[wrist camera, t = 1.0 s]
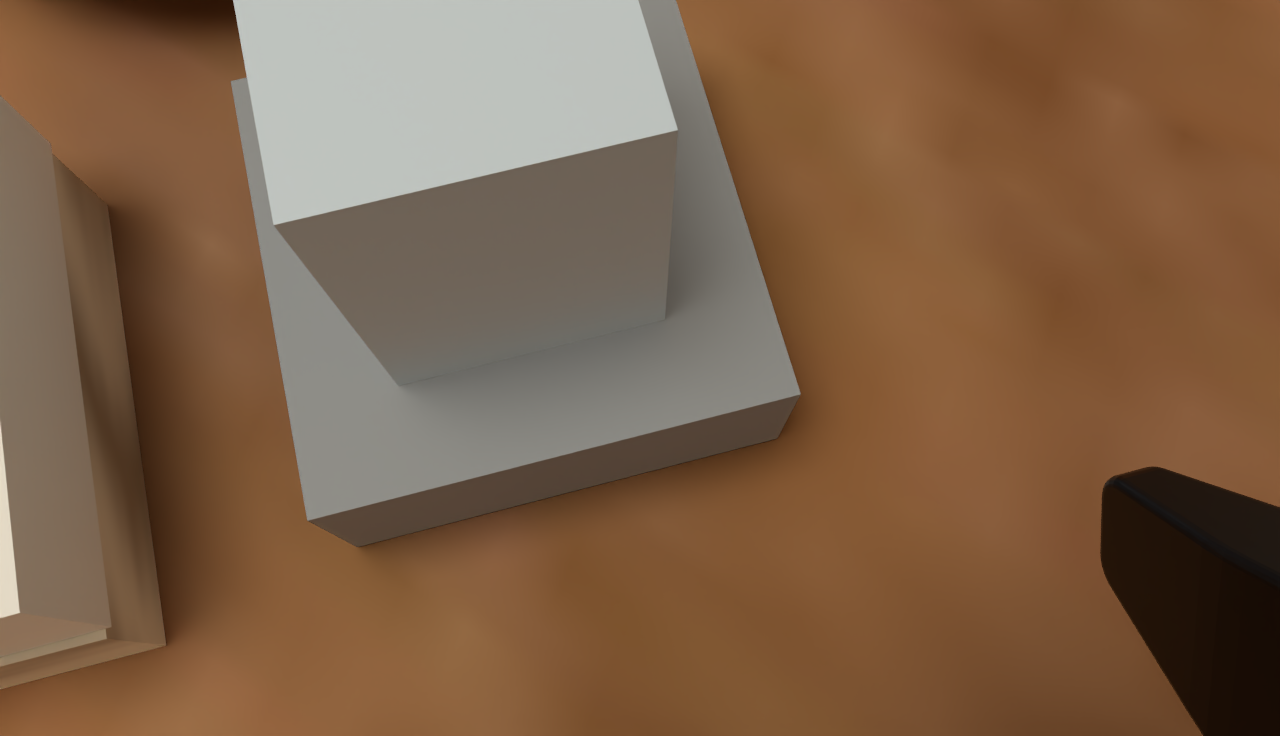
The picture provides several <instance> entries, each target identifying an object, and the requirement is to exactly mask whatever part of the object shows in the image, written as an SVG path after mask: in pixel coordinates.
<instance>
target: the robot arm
mask: <svg viewBox="0 0 1280 736" xmlns="http://www.w3.org/2000/svg"><path fill="white" fill-rule="evenodd" d="M1100 554H1101V563H1102V567H1103V571H1104V574H1105V576H1106V578H1107V581H1108V583H1109V585H1110V586H1111V588H1112V590H1113V591H1114V593H1115V595H1116V596H1117V598H1118V599H1119V601H1120V603H1121V604H1122V606H1123V608H1124V609H1125V611H1126V612H1127V614H1128V616H1129V617H1130V619H1131V621H1132V622H1133V624H1134V625H1135V627H1136V629H1137V630H1138V632H1139V634H1140V635H1141V637H1142V638H1143V640H1144V642H1145V643H1146V645H1147V646H1148V648H1149V650H1150V651H1151V653H1152V655H1153V656H1154V658H1155V659H1156V661H1157V663H1158V664H1159V666H1160V668H1161V669H1162V671H1163V672H1164V674H1165V676H1166V677H1167V679H1168V681H1169V682H1170V684H1171V685H1172V687H1173V689H1174V690H1175V692H1176V694H1177V695H1178V697H1179V698H1180V700H1181V702H1182V703H1183V705H1184V706H1185V708H1186V710H1187V711H1188V713H1189V714H1190V716H1191V718H1192V719H1193V721H1194V722H1195V724H1196V725H1197V727H1198V728H1199V730H1200V731H1201V733H1202V734H1203V736H1280V507H1277V506H1274V505H1271V504H1268V503H1265V502H1262V501H1259V500H1256V499H1253V498H1250V497H1247V496H1244V495H1241V494H1238V493H1235V492H1232V491H1229V490H1226V489H1223V488H1220V487H1217V486H1214V485H1211V484H1208V483H1205V482H1202V481H1199V480H1197V479H1194V478H1191V477H1188V476H1185V475H1182V474H1179V473H1176V472H1173V471H1170V470H1167V469H1163V468H1160V467H1146V468H1142V469H1138V470H1135V471H1131V472H1127V473H1124V474H1120V475H1116V476H1113V477H1111V478H1110V479H1109V480H1107V482H1106V483H1105V485H1104V488H1103V492H1102V513H1101V550H1100Z"/></svg>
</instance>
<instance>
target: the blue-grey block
mask: <svg viewBox="0 0 1280 736" xmlns="http://www.w3.org/2000/svg"><path fill="white" fill-rule="evenodd" d="M233 2H234V8H235V13H236V19H237V25H238V30H239V36H240V41H241V47H242V52H243V58H244V64H245V69H246V75H247V80H248V86H249V91H250V97H251V103H252V108H253V114H254V119H255V125H256V130H257V136H258V142H259V147H260V153H261V158H262V164H263V169H264V175H265V181H266V186H267V192H268V197H269V203H270V208H271V214H272V220H273V225H274V226H275V228H276V229H277V230H278V232H279V233H280V234H281V235H282V237H283V238H284V239H285V241H286V242H287V243H288V244H289V246H290V247H291V248H292V250H293V251H294V252H295V253H296V255H297V256H298V257H299V259H300V260H301V261H302V263H303V264H304V265H305V266H306V268H307V269H308V270H309V272H310V273H311V274H312V275H313V277H314V278H315V279H316V281H317V282H318V283H319V284H320V286H321V287H322V288H323V290H324V291H325V292H326V293H327V295H328V296H329V297H330V299H331V300H332V301H333V302H334V304H335V305H336V306H337V308H338V309H339V310H340V311H341V313H342V314H343V315H344V317H345V318H346V319H347V321H348V322H349V323H350V324H351V326H352V327H353V328H354V330H355V331H356V332H357V333H358V335H359V336H360V337H361V339H362V340H363V341H364V342H365V344H366V345H367V346H368V348H369V349H370V350H371V351H372V353H373V354H374V355H375V357H376V358H377V359H378V360H379V362H380V363H381V364H382V366H383V367H384V368H385V370H386V371H387V372H388V373H389V375H390V376H391V377H392V379H393V380H394V381H395V382H396V384H397V385H398V386H400V385H404V384H408V383H412V382H416V381H420V380H424V379H428V378H432V377H436V376H440V375H444V374H448V373H452V372H457V371H461V370H465V369H469V368H473V367H477V366H481V365H485V364H489V363H493V362H497V361H501V360H505V359H509V358H513V357H517V356H521V355H525V354H529V353H533V352H537V351H541V350H545V349H549V348H553V347H557V346H561V345H565V344H569V343H573V342H577V341H581V340H585V339H589V338H593V337H597V336H601V335H606V334H610V333H614V332H618V331H622V330H626V329H630V328H634V327H638V326H642V325H646V324H650V323H654V322H658V321H662V320H665V312H666V298H667V283H668V268H669V254H670V239H671V224H672V210H673V195H674V180H675V166H676V151H677V136H678V129H677V125H676V122H675V119H674V116H673V112H672V109H671V106H670V102H669V99H668V96H667V93H666V89H665V86H664V83H663V80H662V76H661V73H660V70H659V66H658V63H657V60H656V57H655V53H654V50H653V47H652V44H651V40H650V37H649V34H648V30H647V27H646V24H645V21H644V17H643V14H642V11H641V7H640V4H639V1H638V0H233Z"/></svg>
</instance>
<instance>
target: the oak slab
mask: <svg viewBox="0 0 1280 736" xmlns="http://www.w3.org/2000/svg"><path fill="white" fill-rule="evenodd" d="M52 157H53V165H54V173H55V181H56V189H57V197H58V205H59V213H60V221H61V229H62V237H63V245H64V253H65V261H66V269H67V277H68V285H69V293H70V300H71V308H72V316H73V324H74V332H75V340H76V348H77V356H78V364H79V372H80V380H81V388H82V396H83V404H84V412H85V420H86V428H87V436H88V444H89V451H90V459H91V467H92V475H93V483H94V491H95V499H96V507H97V515H98V523H99V531H100V539H101V547H102V555H103V563H104V571H105V579H106V587H107V595H108V603H109V610H110V618H111V626H112V627H110V628H106V629H102V630H99V631H95V632H91V633H87V634H84V635H80V636H76V637H73V638H69V639H65V640H62V641H58V642H54V643H51V644H47V645H43V646H39V647H36V648H32V649H28V650H25V651H21V652H17V653H14V654H10V655H6V656H3V657H0V689H4V688H8V687H11V686H15V685H19V684H23V683H27V682H30V681H34V680H38V679H42V678H46V677H49V676H53V675H57V674H61V673H65V672H68V671H72V670H76V669H80V668H84V667H87V666H91V665H95V664H99V663H103V662H106V661H110V660H114V659H118V658H121V657H125V656H129V655H133V654H137V653H140V652H144V651H148V650H152V649H156V648H159V647H163V646H166V639H165V631H164V624H163V616H162V609H161V601H160V594H159V586H158V579H157V571H156V564H155V556H154V549H153V541H152V534H151V526H150V519H149V511H148V504H147V496H146V489H145V481H144V474H143V467H142V459H141V452H140V444H139V437H138V429H137V422H136V414H135V407H134V399H133V392H132V384H131V377H130V369H129V362H128V354H127V347H126V339H125V332H124V324H123V317H122V309H121V302H120V294H119V287H118V279H117V272H116V264H115V257H114V249H113V242H112V234H111V227H110V220H109V212H108V205H107V204H106V203H105V202H104V201H103V200H102V199H100V198H99V197H98V196H97V195H96V194H95V193H94V192H93V191H92V190H91V189H90V188H89V187H88V186H87V185H85V184H84V183H83V182H82V181H81V180H80V179H79V178H78V177H77V176H76V175H75V174H74V173H73V172H72V171H71V170H69V169H68V168H67V167H66V166H65V165H64V164H63V163H62V162H61V161H60V160H59V159H58V158H57V157H55V156H54V155H53V154H52Z"/></svg>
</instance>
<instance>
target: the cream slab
mask: <svg viewBox="0 0 1280 736" xmlns="http://www.w3.org/2000/svg"><path fill="white" fill-rule="evenodd" d="M110 627H112V626H111V618H110V610H109V603H108V595H107V587H106V579H105V571H104V563H103V555H102V547H101V539H100V531H99V523H98V515H97V507H96V499H95V491H94V483H93V475H92V467H91V459H90V451H89V444H88V436H87V428H86V420H85V412H84V404H83V396H82V388H81V380H80V372H79V364H78V356H77V348H76V340H75V332H74V324H73V316H72V308H71V300H70V293H69V285H68V277H67V269H66V261H65V253H64V245H63V237H62V229H61V221H60V213H59V205H58V197H57V189H56V181H55V173H54V165H53V157H52V149H51V144H50V143H49V142H48V141H47V140H46V139H45V138H44V137H43V136H42V135H41V134H40V133H39V132H38V131H37V130H36V129H35V128H34V127H33V126H32V125H31V124H29V123H28V122H27V121H26V120H25V119H24V118H23V117H22V116H21V115H20V114H19V113H18V112H17V111H16V110H15V109H14V108H13V107H12V106H11V105H10V104H9V103H8V102H7V101H5V100H4V99H3V98H2V97H1V96H0V657H3V656H6V655H10V654H14V653H17V652H21V651H25V650H28V649H32V648H36V647H39V646H43V645H47V644H51V643H54V642H58V641H62V640H65V639H69V638H73V637H76V636H80V635H84V634H87V633H91V632H95V631H99V630H102V629H106V628H110Z"/></svg>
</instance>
